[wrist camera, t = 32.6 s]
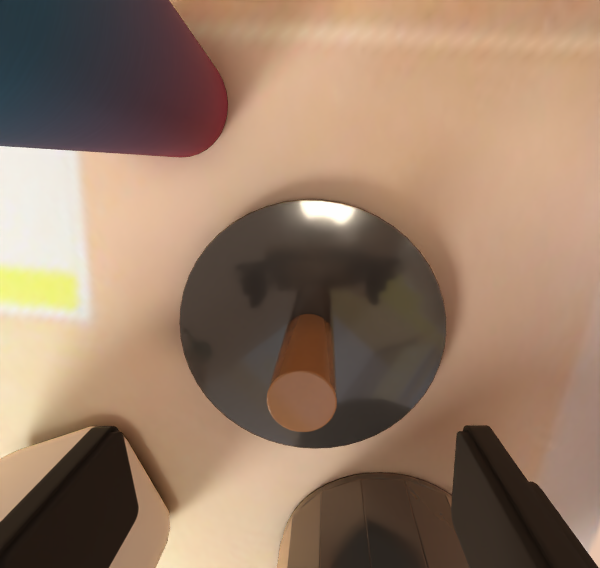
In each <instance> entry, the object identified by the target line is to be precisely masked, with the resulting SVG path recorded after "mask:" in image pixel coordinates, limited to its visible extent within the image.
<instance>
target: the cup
mask: <svg viewBox="0 0 600 568" xmlns="http://www.w3.org/2000/svg"><path fill="white" fill-rule="evenodd" d="M227 109H228V101H227V93H226V89H225V86H224V82H223V80H222V78H221V76H220V74H219V72H218V70H217V69H216V68H215V66H214V65H213V63H212V62H211V60H210V59H209V57H208V56H207V55H206V53H205V52H204V50H203V49H202V47H201V46H200V44H199V43H198V42H197V40H196V39H195V37H194V36H193V34H192V33H191V31H190V30H189V29H188V27H187V26H186V24H185V23H184V21H183V20H182V18H181V17H180V15H179V14H178V13H177V11H176V10H175V8H174V7H173V5H172V4H171V2H170V1H169V0H0V146H11V147H26V148H42V149H58V150H73V151H89V152H105V153H120V154H136V155H152V156H167V157H190V156H193V155H197V154H199V153H201V152H203V151H205V150H207V149H208V148H209V147H210V146H211V145H212V144H213V143H214V142H215V141H216V140H217V138H218V137H219V136H220V134H221V132H222V130H223V127H224V125H225V121H226V117H227Z"/></svg>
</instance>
